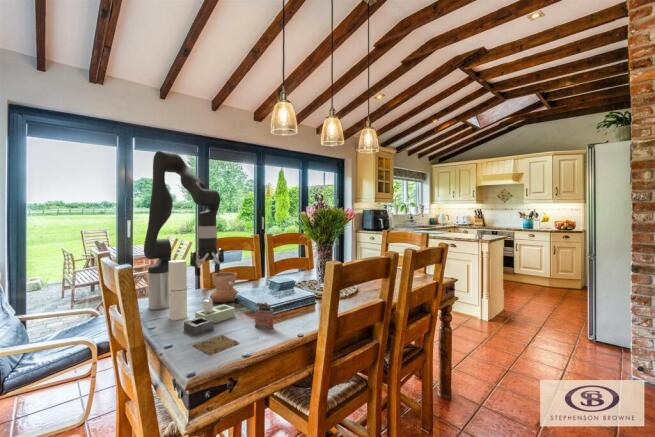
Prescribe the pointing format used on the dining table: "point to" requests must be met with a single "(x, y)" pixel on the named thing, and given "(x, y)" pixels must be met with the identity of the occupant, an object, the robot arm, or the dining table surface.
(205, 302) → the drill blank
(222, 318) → the rack
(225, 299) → the ceramic jug
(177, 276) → the cylindrical container
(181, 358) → the dining table surface
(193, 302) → the dining table surface
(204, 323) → the block
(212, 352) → the tan flat square slab
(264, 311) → the lighter
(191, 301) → the dining table surface
